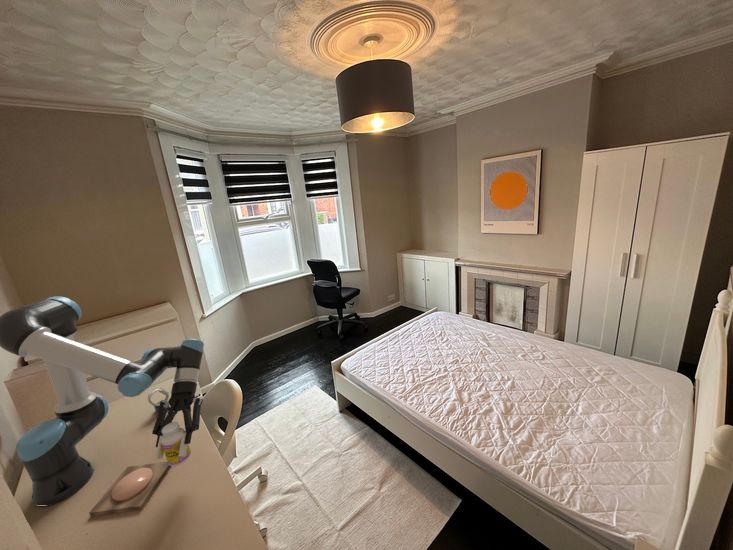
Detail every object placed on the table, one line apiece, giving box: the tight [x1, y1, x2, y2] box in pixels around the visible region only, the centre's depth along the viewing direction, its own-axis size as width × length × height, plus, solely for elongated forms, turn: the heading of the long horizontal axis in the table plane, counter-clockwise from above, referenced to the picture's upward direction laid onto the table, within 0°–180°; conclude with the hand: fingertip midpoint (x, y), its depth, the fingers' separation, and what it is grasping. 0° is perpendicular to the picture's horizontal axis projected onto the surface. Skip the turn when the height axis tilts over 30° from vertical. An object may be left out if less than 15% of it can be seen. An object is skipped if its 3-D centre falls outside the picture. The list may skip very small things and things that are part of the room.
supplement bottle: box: [161, 421, 192, 467], centre depth 96 cm, size 7×7×13 cm
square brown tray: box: [88, 461, 172, 517], centre depth 99 cm, size 16×16×2 cm
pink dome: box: [112, 468, 153, 501], centre depth 98 cm, size 11×11×1 cm
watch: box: [147, 387, 171, 414], centre depth 137 cm, size 6×8×11 cm
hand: (170, 457), depth 93 cm, fingers closed on supplement bottle, 7 cm apart
